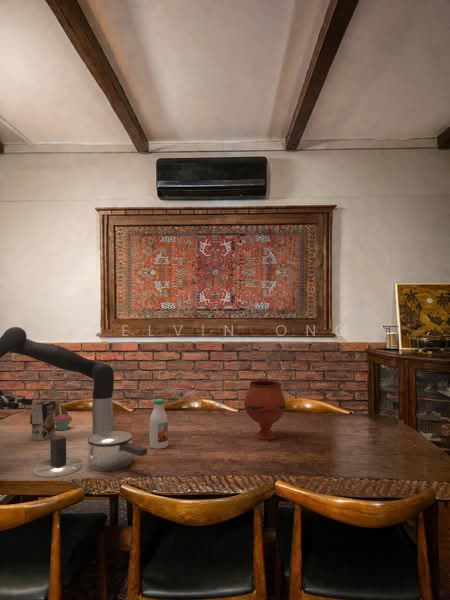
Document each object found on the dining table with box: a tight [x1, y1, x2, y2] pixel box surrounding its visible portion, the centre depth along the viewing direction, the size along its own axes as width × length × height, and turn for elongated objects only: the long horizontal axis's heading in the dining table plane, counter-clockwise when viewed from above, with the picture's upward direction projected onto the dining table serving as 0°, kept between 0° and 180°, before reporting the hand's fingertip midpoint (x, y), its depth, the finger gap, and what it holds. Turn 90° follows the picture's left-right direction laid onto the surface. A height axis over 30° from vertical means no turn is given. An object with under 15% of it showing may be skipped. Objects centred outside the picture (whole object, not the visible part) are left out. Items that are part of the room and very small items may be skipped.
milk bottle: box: [149, 398, 169, 450], centre depth 181 cm, size 8×8×20 cm
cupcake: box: [55, 404, 73, 431], centre depth 209 cm, size 9×8×12 cm
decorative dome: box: [29, 402, 69, 425], centre depth 227 cm, size 19×20×10 cm
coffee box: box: [31, 400, 56, 441], centre depth 195 cm, size 9×6×16 cm
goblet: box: [243, 379, 286, 441], centre depth 193 cm, size 19×19×25 cm
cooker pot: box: [87, 430, 148, 472], centre depth 157 cm, size 16×28×10 cm, turn 52°
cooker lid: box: [32, 435, 83, 478], centre depth 156 cm, size 17×17×12 cm
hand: (25, 404), depth 158 cm, fingers open, 8 cm apart
